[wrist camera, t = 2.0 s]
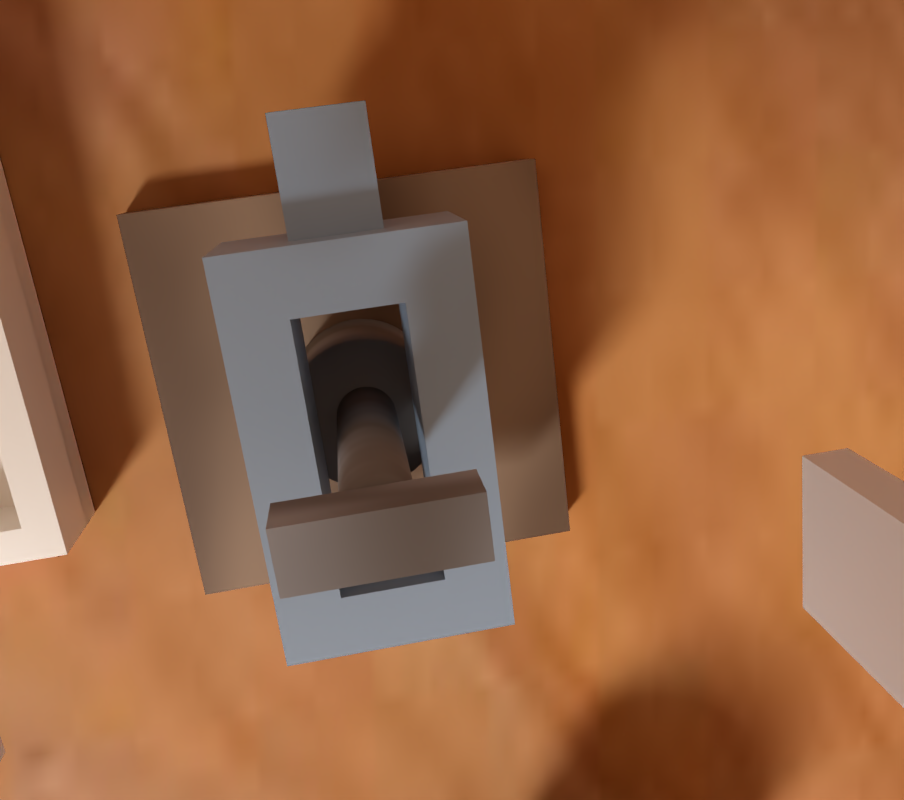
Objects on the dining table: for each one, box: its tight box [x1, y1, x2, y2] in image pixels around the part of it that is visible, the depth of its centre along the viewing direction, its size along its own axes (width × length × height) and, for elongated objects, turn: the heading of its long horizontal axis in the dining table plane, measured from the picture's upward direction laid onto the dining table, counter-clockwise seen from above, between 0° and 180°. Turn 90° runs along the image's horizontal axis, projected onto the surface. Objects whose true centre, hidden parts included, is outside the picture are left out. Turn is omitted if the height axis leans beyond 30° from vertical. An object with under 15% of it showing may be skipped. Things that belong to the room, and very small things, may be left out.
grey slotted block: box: [202, 101, 515, 666], centre depth 21 cm, size 13×6×3 cm, turn 7°
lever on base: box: [117, 159, 570, 599], centre depth 21 cm, size 12×12×12 cm
